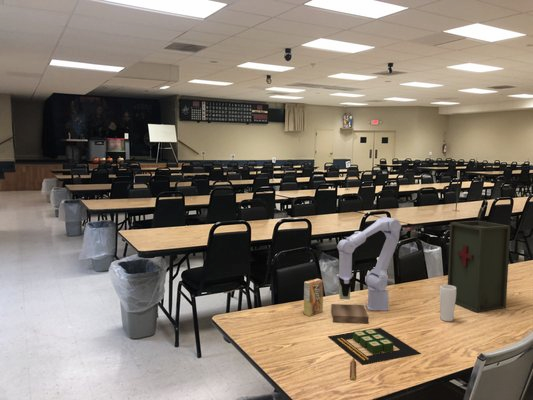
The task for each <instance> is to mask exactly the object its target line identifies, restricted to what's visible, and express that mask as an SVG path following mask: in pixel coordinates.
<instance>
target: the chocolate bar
mask: <svg viewBox="0 0 533 400" xmlns="http://www.w3.org/2000/svg"><path fill="white" fill-rule="evenodd" d="M356 361H357V360H356V359H354V358H353V357H352V359H351V361H350V362H349V380H350V381H351V380H352V381H357V362H356Z"/></svg>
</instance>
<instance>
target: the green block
mask: <svg viewBox="0 0 533 400" xmlns="http://www.w3.org/2000/svg"><path fill="white" fill-rule="evenodd" d="M338 288H339V292H338V297H339V300H351V288H350V289H349V293H348V297H346V296H343V294H342V287H341V285H339V287H338Z"/></svg>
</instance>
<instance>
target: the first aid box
mask: <svg viewBox="0 0 533 400" xmlns="http://www.w3.org/2000/svg"><path fill="white" fill-rule="evenodd" d="M510 240H511V225H508V224H507V225H506V224H501V223H495V222H489V221H483V220H468V221H467V220H466V221H453V222H450V223H449V243H448V245H449V247H448V267H447V268H448V271H447V285H451V286H455V287H456V302H455V306H456V305H457V306H459V307H461V308H463V309H465V310H468V311H471V312H474V313H475V314H479V313H486V312H493V311H498V310H503V309H506V308H507V295H508V291H507V290H508V276H509V259H510V257H509V255H510Z"/></svg>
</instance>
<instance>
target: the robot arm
mask: <svg viewBox="0 0 533 400" xmlns="http://www.w3.org/2000/svg"><path fill="white" fill-rule="evenodd" d="M401 229H402V224H401V222H400V220H399V219H397V218H393V217H387V216H380V217H379V218H377V219H376V221H375V222H374V223H372V224H370V225H369V226H368V227H366V228H365V229H364V230H362V231H361V230H360V231H358V230H357V231H354V233H353V234H351V235H350V236H347V237H345V238H346V239H341V240H340V241H339V242H338V244H337V245H336V248H337V250H338V254H339V255H338V256H339V257H338V258H339V261H338V264H339V266H338V273H337V274H336V277H337V278H338V280H339V284H340V286H341V287H342V294H343V296H346V297H348V293H349V289H350V290H351V286H352V285H353V282H352V281H351V279H352V278H353V273H352V271H353V269H352V268H353V267H352V266H353V253H354V251H355V250H356V249H357V247H359V246H361V245H363V244H364V243H365V242H366V240H367V238H369V237H370V236H372V235H374V234H376V233H378V232H379V231H381V232H382V233H384V235H385V238H386V239H385V242H384V243H383V246H382V249H381V251H380V254H379V257H378V259H377V261H376V264H375V267H374V268H372V269H371V270H370V271H369V273H368V274H367V275H366V277H365V281H364V282H365V284H366V286H367V291H368V293H367V303H365V306H366V307H367V310H369V311H389V310H390V309H389V303H390V301H389V299H390V296H389V291H388V289H387V287H388V279H389V276H388V274H387V271H388V268H389V266H390V264H391V260H392V258H393V255H394V253H395V250H396V248H397V245H398V242H399V239H400V232H401Z"/></svg>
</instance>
